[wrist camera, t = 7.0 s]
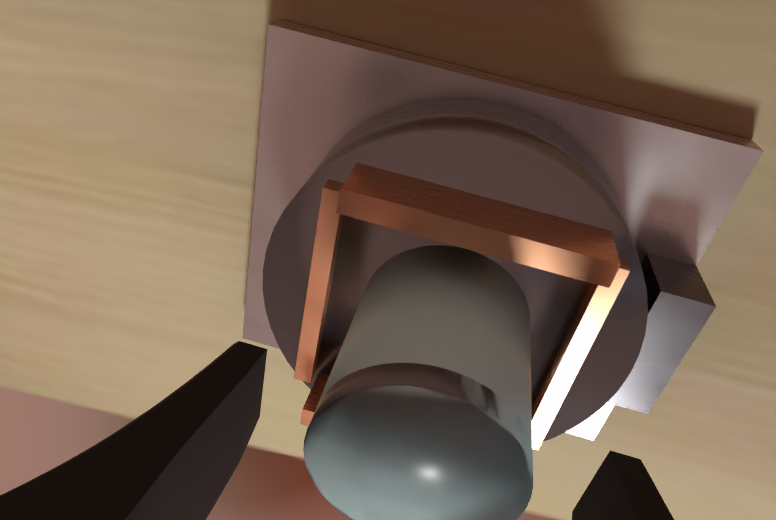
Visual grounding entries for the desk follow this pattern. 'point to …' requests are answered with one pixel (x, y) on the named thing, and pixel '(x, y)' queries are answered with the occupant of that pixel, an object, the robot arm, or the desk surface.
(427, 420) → the cylinder
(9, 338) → the desk surface
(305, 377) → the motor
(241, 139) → the desk surface
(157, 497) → the robot arm
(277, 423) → the desk surface
